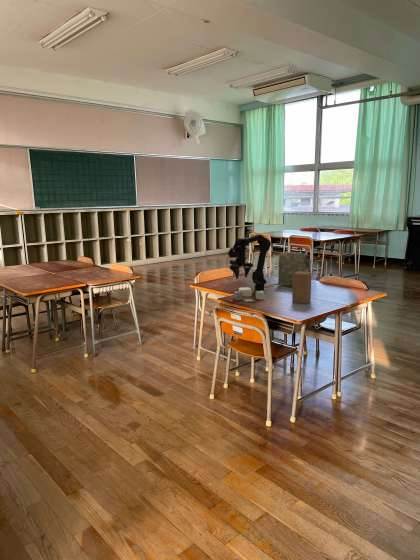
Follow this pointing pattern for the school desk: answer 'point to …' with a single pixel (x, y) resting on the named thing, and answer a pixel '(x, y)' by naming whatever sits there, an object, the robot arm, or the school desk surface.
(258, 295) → the green cube
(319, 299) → the school desk surface
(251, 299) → the board
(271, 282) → the school desk surface
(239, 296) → the grey cube
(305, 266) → the bag
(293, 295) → the block
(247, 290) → the plinth
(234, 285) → the school desk surface
